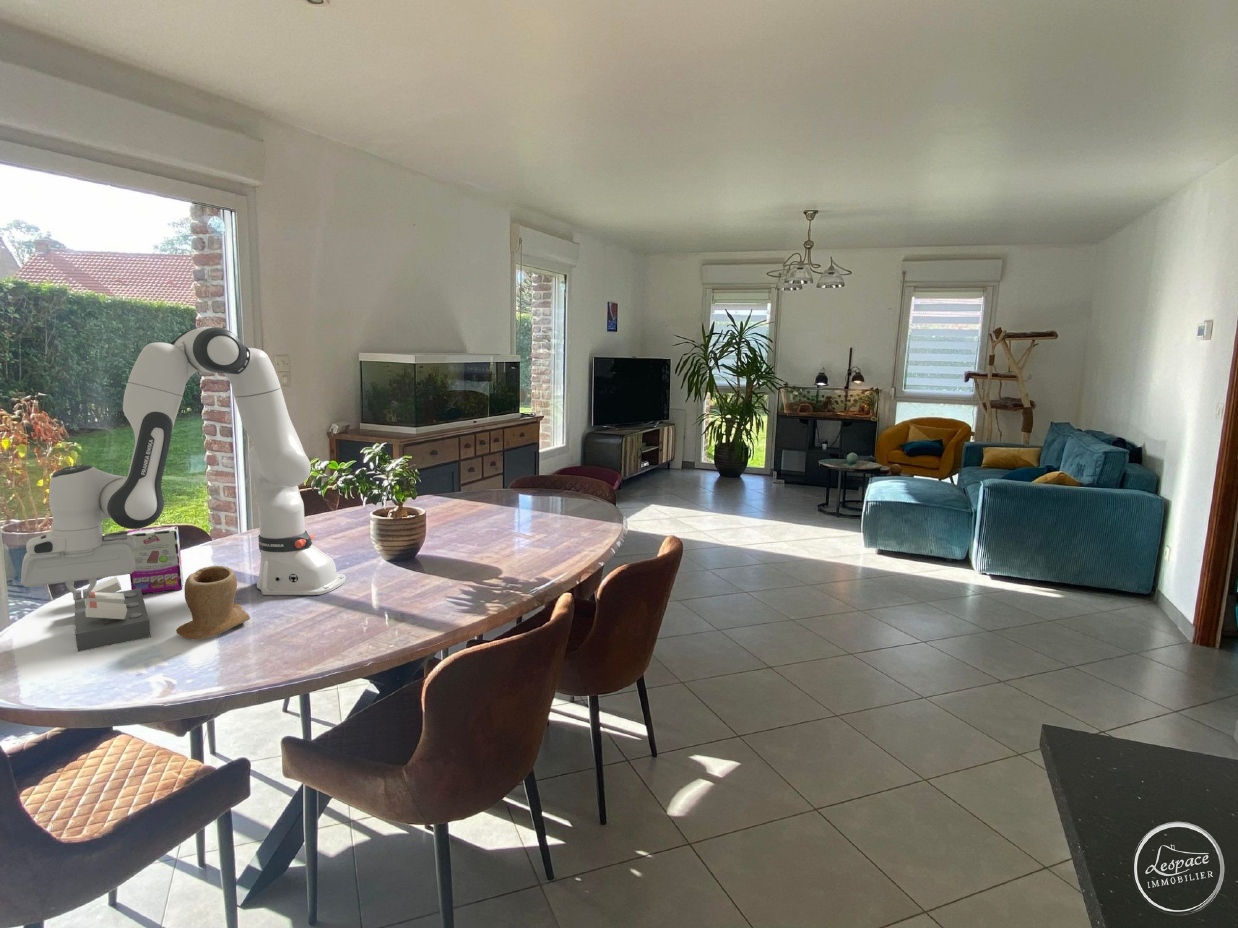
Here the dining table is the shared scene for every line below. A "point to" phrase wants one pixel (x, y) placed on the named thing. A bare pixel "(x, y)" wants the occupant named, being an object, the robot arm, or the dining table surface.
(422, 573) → the dining table surface
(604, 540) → the dining table surface
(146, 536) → the candy bar box
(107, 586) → the rocker
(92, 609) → the rocker
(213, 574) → the stone cup
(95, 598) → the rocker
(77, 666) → the dining table surface
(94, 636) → the switch panel
